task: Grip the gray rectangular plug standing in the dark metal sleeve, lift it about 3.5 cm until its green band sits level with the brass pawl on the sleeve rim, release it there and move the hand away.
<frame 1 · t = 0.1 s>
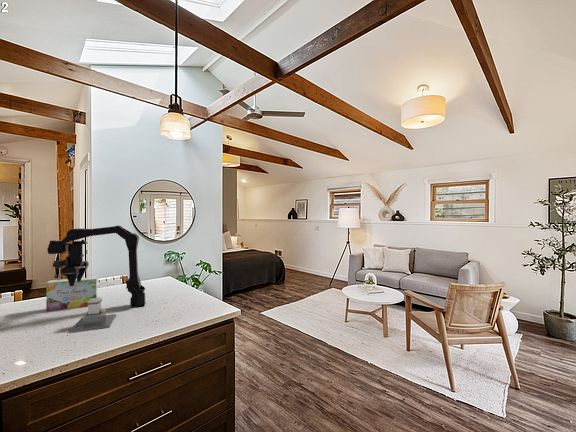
hand: (75, 283, 133), 15 cm above the worktop, fingers open, 9 cm apart
stand base: (94, 323, 120), on the worktop
snack box: (73, 307, 141), on the worktop
gray rectangular plug: (95, 310, 120), point 6 cm above the worktop, slide at 0.0 cm
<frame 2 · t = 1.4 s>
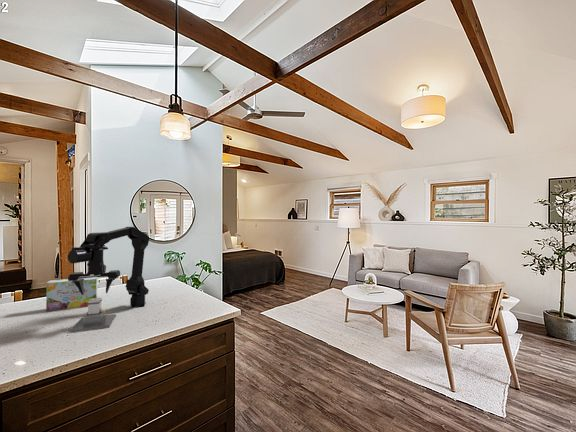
hand: (94, 294, 121), 13 cm above the worktop, fingers open, 9 cm apart
nothing on the worktop moved.
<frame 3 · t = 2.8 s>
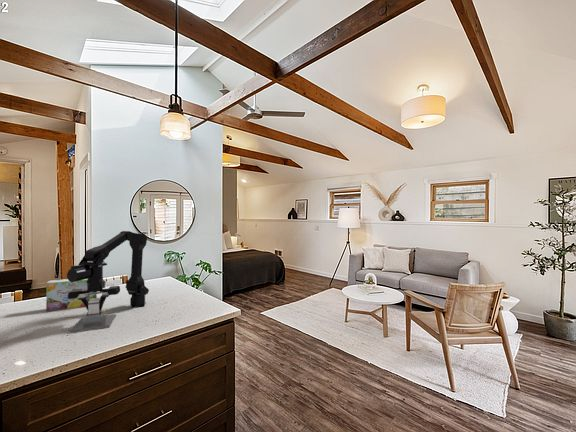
hand: (95, 310, 120), 6 cm above the worktop, fingers closed on gray rectangular plug, 4 cm apart
gray rectangular plug: (95, 310, 120), point 6 cm above the worktop, slide at 0.0 cm, touching gripper
everything else where it was.
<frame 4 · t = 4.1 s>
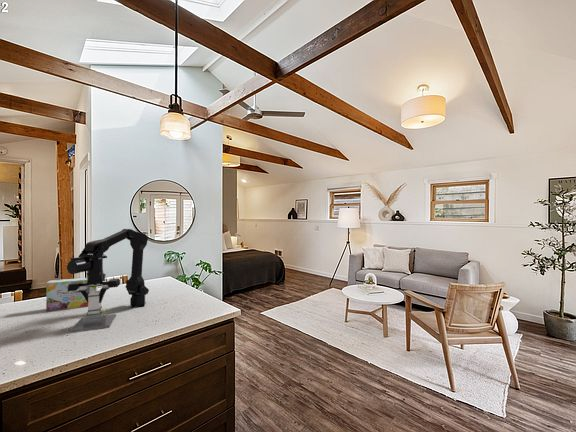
hand: (95, 303, 120), 9 cm above the worktop, fingers closed on gray rectangular plug, 4 cm apart
gray rectangular plug: (95, 302, 120), point 10 cm above the worktop, slide at 3.4 cm, touching gripper
everything else where it was.
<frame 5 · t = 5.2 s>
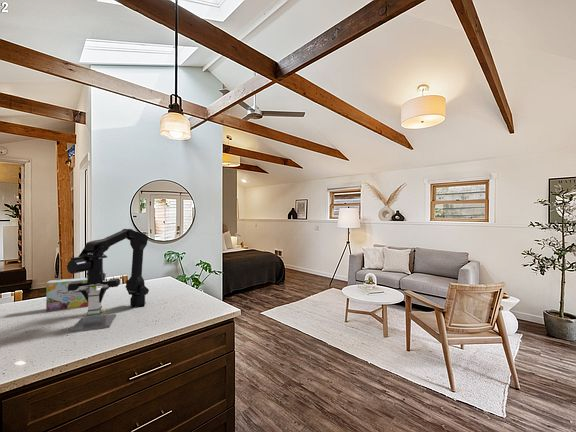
hand: (95, 302, 120), 10 cm above the worktop, fingers closed on gray rectangular plug, 4 cm apart
gray rectangular plug: (95, 302, 120), point 10 cm above the worktop, slide at 3.5 cm, touching gripper
everything else where it was.
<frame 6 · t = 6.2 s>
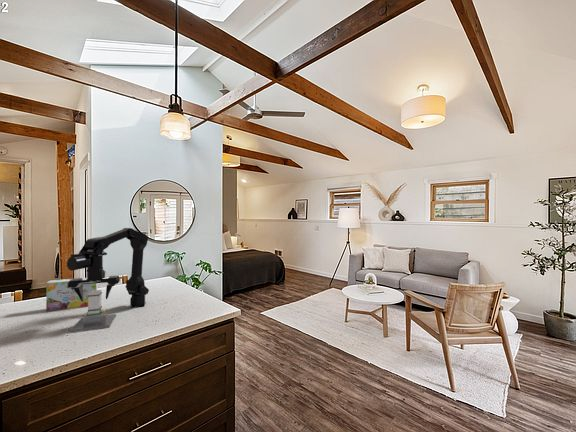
hand: (94, 300, 120), 11 cm above the worktop, fingers open, 9 cm apart
gray rectangular plug: (95, 302, 120), point 10 cm above the worktop, slide at 3.5 cm
everything else where it was.
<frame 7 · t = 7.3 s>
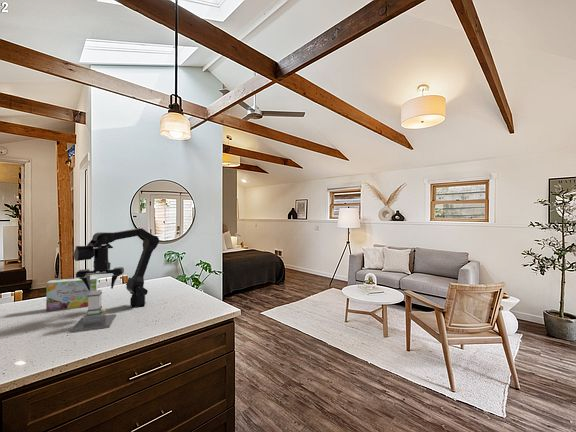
hand: (101, 289, 129), 13 cm above the worktop, fingers open, 9 cm apart
nothing on the worktop moved.
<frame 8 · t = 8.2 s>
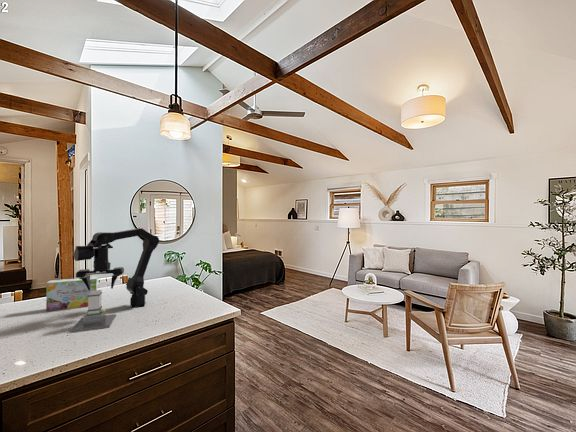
hand: (101, 289, 129), 13 cm above the worktop, fingers open, 9 cm apart
nothing on the worktop moved.
at the end: gray rectangular plug slide at 3.5 cm; the gripper is holding nothing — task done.
